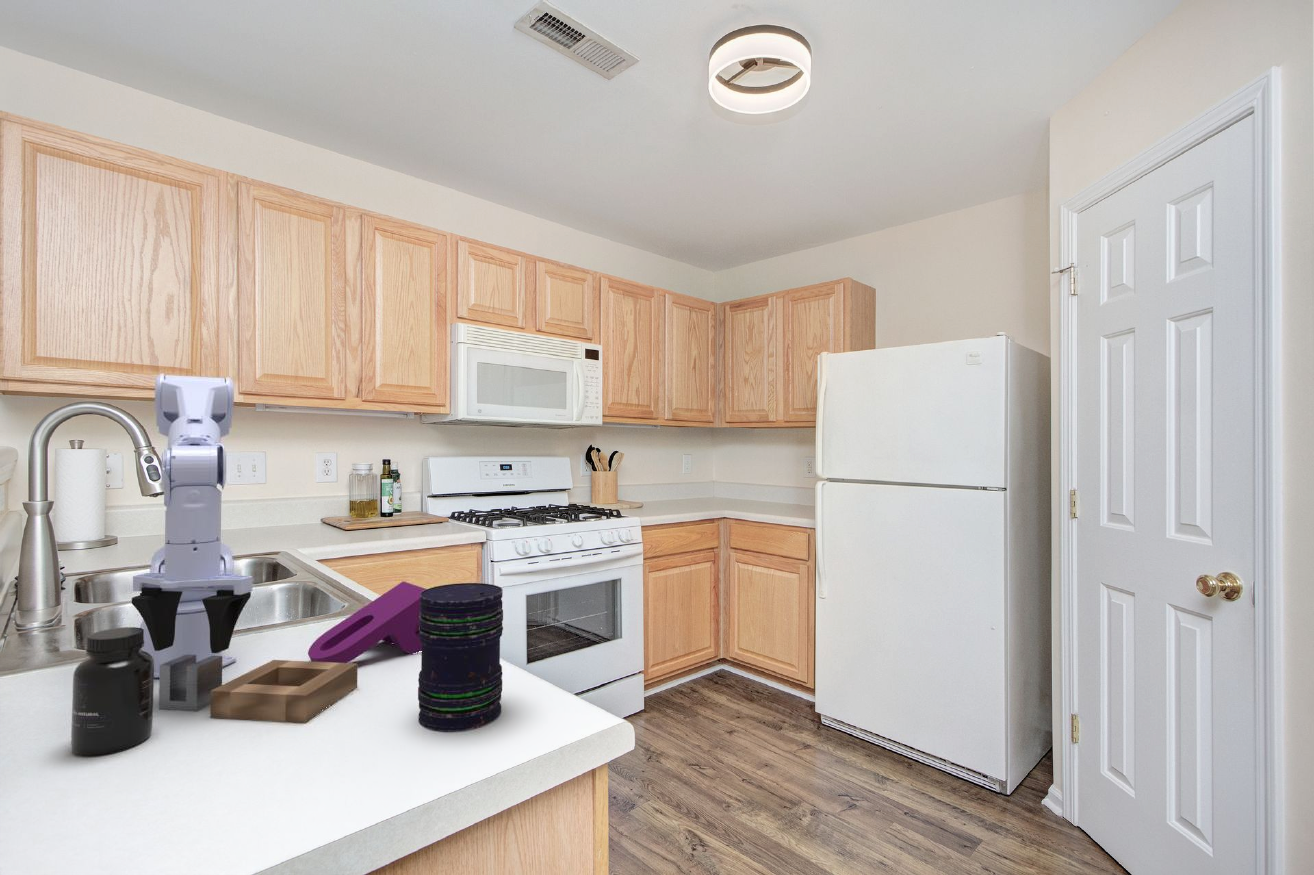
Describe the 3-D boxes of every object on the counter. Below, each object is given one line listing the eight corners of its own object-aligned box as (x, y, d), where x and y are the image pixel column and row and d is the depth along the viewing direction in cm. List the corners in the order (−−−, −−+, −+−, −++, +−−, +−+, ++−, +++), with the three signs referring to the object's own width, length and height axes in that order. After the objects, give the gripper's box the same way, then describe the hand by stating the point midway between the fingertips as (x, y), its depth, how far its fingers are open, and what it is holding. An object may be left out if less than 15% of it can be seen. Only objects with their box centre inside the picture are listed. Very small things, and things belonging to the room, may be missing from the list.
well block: (210, 717, 77) (210, 690, 77) (273, 683, 88) (273, 659, 88) (305, 722, 76) (305, 695, 76) (357, 687, 87) (357, 663, 87)
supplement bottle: (61, 763, 66) (62, 645, 66) (82, 736, 72) (84, 628, 72) (145, 749, 69) (146, 637, 69) (159, 724, 75) (160, 621, 75)
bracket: (158, 710, 79) (159, 665, 80) (185, 697, 83) (186, 654, 83) (196, 712, 79) (197, 667, 79) (221, 699, 83) (222, 656, 83)
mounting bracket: (348, 711, 94) (451, 633, 106) (322, 665, 91) (431, 590, 103) (323, 693, 100) (423, 621, 112) (298, 649, 97) (403, 581, 109)
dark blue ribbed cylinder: (398, 724, 76) (400, 596, 76) (452, 693, 85) (453, 580, 85) (470, 738, 73) (471, 605, 73) (517, 705, 82) (519, 586, 82)
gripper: (110, 544, 78) (108, 657, 78) (223, 547, 77) (221, 662, 77) (160, 536, 85) (159, 640, 85) (264, 538, 84) (263, 644, 84)
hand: (191, 649), depth 81 cm, fingers open, 7 cm apart
